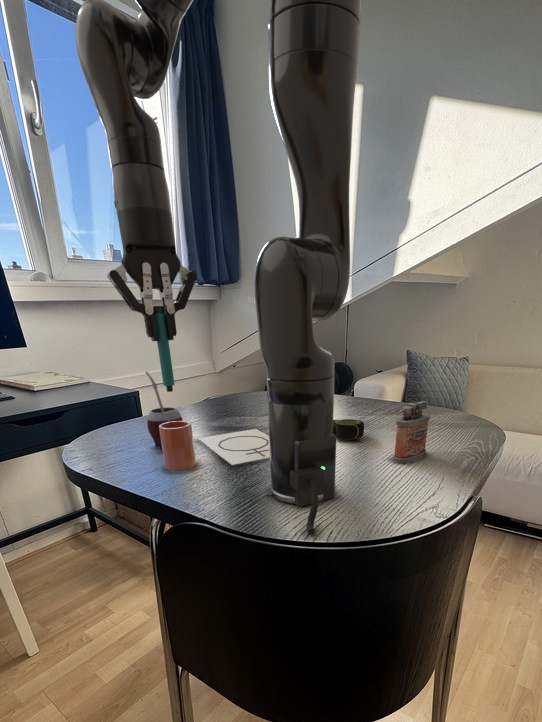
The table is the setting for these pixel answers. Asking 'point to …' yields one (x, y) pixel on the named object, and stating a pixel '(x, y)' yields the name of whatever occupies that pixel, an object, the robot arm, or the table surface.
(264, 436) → the sketch pad
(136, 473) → the table surface
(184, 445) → the pen cup
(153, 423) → the mate gourd
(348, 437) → the tape measure
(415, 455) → the lighter
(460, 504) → the table surface
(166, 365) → the pen
